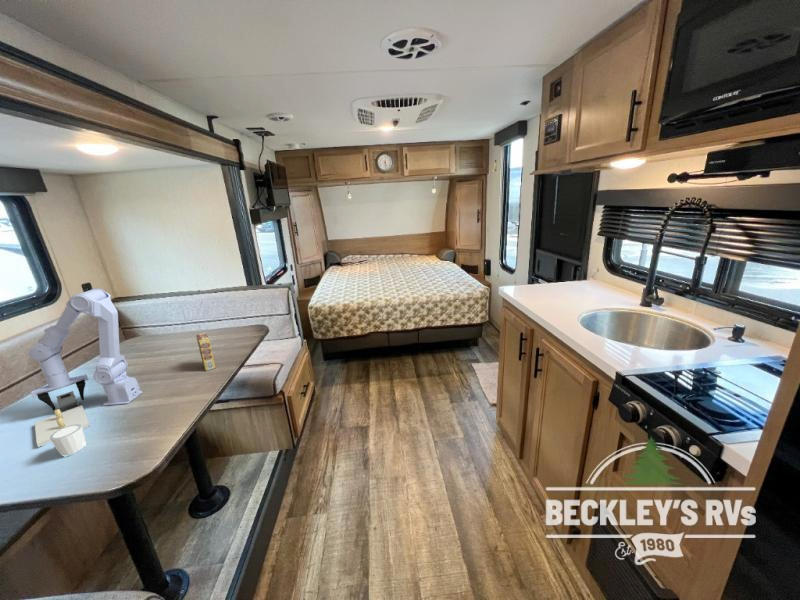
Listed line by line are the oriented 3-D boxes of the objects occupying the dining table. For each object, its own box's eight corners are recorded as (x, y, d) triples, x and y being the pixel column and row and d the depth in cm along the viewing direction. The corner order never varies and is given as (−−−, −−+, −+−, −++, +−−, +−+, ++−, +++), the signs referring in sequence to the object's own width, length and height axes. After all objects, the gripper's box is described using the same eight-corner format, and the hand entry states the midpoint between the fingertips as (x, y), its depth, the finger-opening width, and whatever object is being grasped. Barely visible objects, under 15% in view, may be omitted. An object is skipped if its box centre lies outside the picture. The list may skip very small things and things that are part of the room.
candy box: (216, 367, 142) (208, 337, 138) (206, 371, 140) (197, 340, 136) (213, 361, 149) (205, 332, 145) (203, 364, 147) (195, 335, 142)
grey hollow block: (61, 407, 119) (56, 396, 117) (77, 402, 122) (72, 390, 121) (62, 413, 115) (57, 401, 114) (79, 407, 118) (74, 395, 117)
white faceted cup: (95, 441, 99) (88, 422, 97) (74, 457, 92) (65, 438, 90) (74, 443, 98) (65, 424, 97) (51, 459, 92) (42, 440, 90)
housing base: (36, 426, 108) (30, 414, 107) (83, 408, 117) (78, 397, 116) (38, 448, 97) (32, 434, 96) (90, 426, 106) (85, 414, 105)
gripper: (81, 362, 122) (93, 392, 126) (25, 378, 111) (40, 410, 115) (83, 366, 118) (95, 397, 122) (25, 384, 107) (41, 417, 111)
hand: (68, 404), depth 118 cm, fingers open, 7 cm apart
